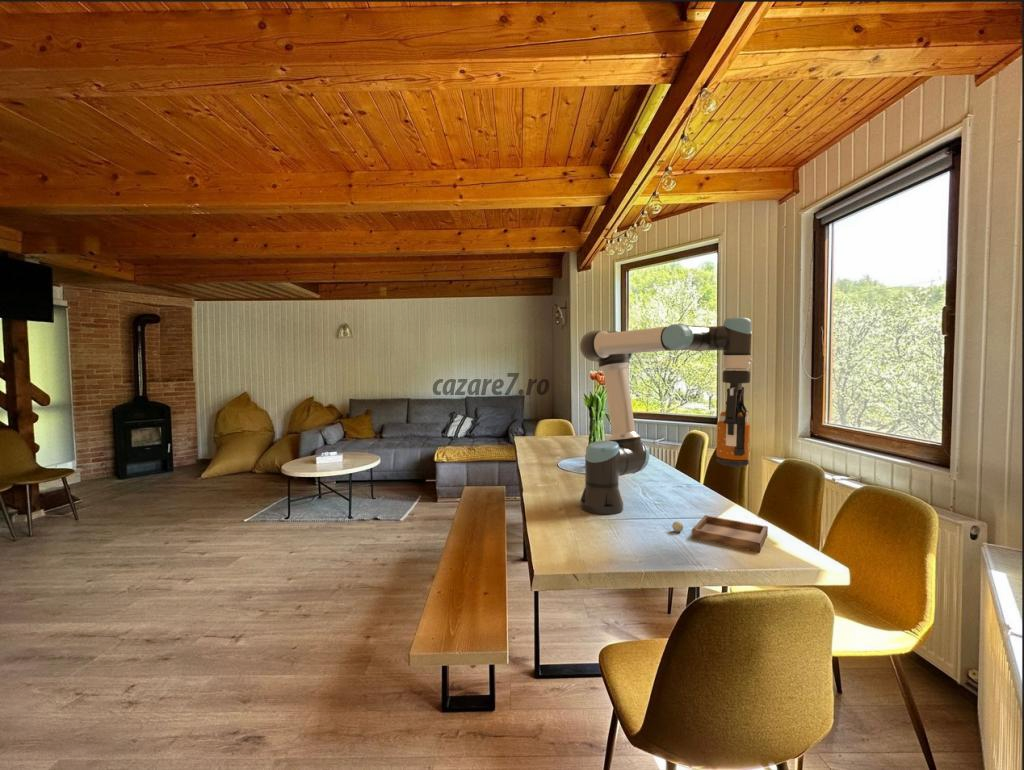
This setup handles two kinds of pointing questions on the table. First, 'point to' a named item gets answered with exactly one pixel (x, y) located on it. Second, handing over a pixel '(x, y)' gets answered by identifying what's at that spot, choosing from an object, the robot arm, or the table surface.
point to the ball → (677, 526)
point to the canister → (740, 452)
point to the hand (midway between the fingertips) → (734, 443)
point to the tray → (731, 533)
